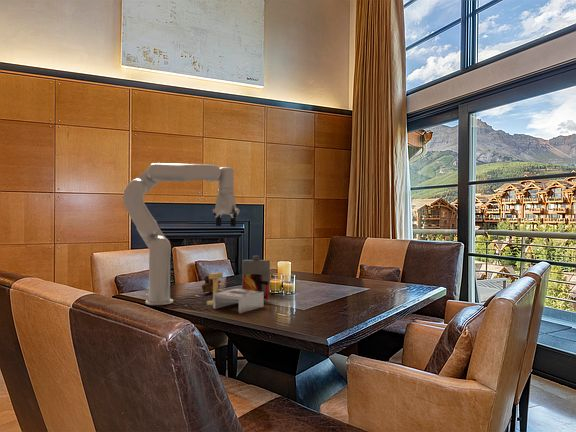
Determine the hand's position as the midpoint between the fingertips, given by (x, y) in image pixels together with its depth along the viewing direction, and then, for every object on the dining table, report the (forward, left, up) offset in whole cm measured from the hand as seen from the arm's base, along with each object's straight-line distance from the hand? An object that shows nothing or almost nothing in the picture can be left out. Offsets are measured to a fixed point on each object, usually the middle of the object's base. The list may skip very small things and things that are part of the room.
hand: (225, 226), depth 209 cm
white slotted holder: (+19, -12, -36) cm, 43 cm away
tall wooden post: (+5, -12, -36) cm, 39 cm away
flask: (+2, +22, -36) cm, 43 cm away
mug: (+14, +7, -37) cm, 40 cm away
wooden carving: (-18, +9, -37) cm, 42 cm away
